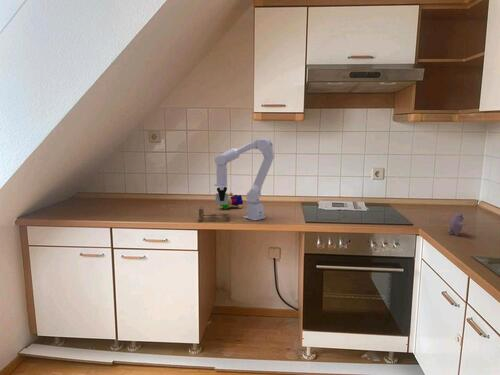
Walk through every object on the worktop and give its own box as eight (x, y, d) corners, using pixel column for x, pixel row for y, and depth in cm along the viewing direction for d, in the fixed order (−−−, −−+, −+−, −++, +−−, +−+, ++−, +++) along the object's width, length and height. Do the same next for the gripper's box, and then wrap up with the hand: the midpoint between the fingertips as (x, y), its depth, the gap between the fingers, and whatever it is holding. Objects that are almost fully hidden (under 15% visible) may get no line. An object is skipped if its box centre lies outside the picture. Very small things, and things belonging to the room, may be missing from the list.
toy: (235, 194, 237) (214, 196, 228) (241, 188, 230) (219, 190, 222) (240, 211, 232) (219, 214, 224) (247, 205, 226) (225, 207, 217)
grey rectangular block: (228, 203, 208) (228, 193, 207) (228, 204, 207) (228, 193, 206) (215, 204, 208) (215, 193, 207) (215, 204, 206) (215, 194, 205)
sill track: (229, 218, 204) (229, 205, 203) (229, 221, 197) (229, 208, 196) (200, 218, 203) (199, 206, 202) (199, 221, 196) (198, 209, 195)
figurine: (466, 238, 168) (469, 216, 166) (452, 238, 169) (454, 215, 167) (456, 231, 179) (459, 210, 178) (443, 230, 180) (445, 209, 179)
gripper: (214, 174, 212) (215, 198, 214) (214, 178, 197) (214, 203, 200) (227, 174, 212) (227, 198, 214) (227, 178, 198) (227, 203, 200)
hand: (222, 200), depth 207 cm, fingers closed on grey rectangular block, 2 cm apart
